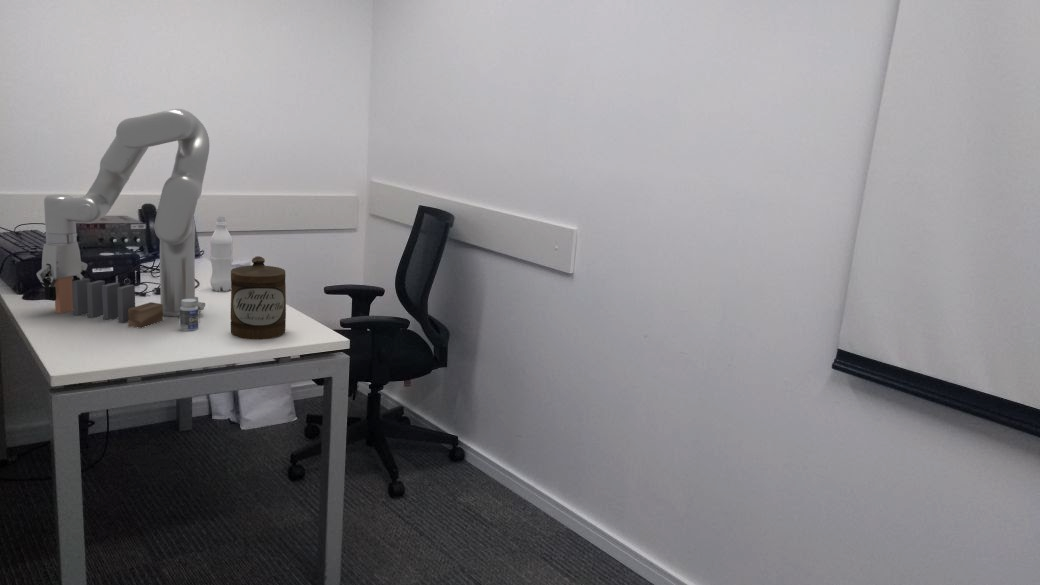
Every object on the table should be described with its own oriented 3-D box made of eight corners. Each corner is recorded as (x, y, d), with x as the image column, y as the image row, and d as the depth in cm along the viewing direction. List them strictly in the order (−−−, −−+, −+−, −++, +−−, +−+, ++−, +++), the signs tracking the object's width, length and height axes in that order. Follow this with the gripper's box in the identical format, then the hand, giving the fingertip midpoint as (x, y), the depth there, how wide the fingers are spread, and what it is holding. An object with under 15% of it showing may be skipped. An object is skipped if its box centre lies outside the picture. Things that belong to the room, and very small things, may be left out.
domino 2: (91, 312, 227) (89, 278, 225) (78, 315, 222) (76, 281, 220) (86, 311, 227) (85, 278, 225) (73, 315, 222) (71, 281, 220)
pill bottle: (191, 332, 216) (191, 302, 214) (176, 329, 217) (176, 300, 215) (201, 328, 220) (201, 299, 218) (186, 325, 221) (186, 297, 219)
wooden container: (232, 341, 211) (231, 261, 206) (229, 326, 224) (229, 251, 219) (288, 339, 217) (289, 261, 212) (282, 324, 230) (283, 252, 225)
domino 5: (135, 318, 224) (134, 285, 222) (123, 323, 219) (122, 288, 217) (130, 318, 224) (129, 284, 222) (118, 322, 219) (117, 287, 217)
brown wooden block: (162, 320, 224) (162, 304, 223) (141, 328, 215) (140, 310, 214) (150, 318, 225) (150, 302, 224) (128, 326, 216) (128, 308, 215)
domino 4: (120, 316, 225) (119, 283, 223) (108, 320, 220) (106, 286, 218) (116, 315, 225) (114, 282, 223) (103, 319, 220) (101, 285, 218)
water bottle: (224, 286, 270) (224, 215, 265) (237, 290, 266) (237, 218, 261) (206, 289, 265) (205, 216, 259) (218, 293, 261) (218, 219, 255)
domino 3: (106, 314, 226) (104, 280, 224) (93, 318, 221) (91, 284, 219) (101, 313, 226) (99, 280, 224) (88, 317, 221) (86, 283, 219)
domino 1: (73, 309, 228) (72, 276, 226) (60, 313, 223) (58, 279, 221) (69, 308, 228) (67, 275, 226) (55, 312, 224) (53, 278, 222)
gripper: (73, 233, 230) (76, 289, 234) (25, 240, 214) (28, 301, 217) (95, 236, 229) (97, 292, 232) (47, 243, 212) (51, 304, 216)
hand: (64, 296), depth 225 cm, fingers open, 9 cm apart
